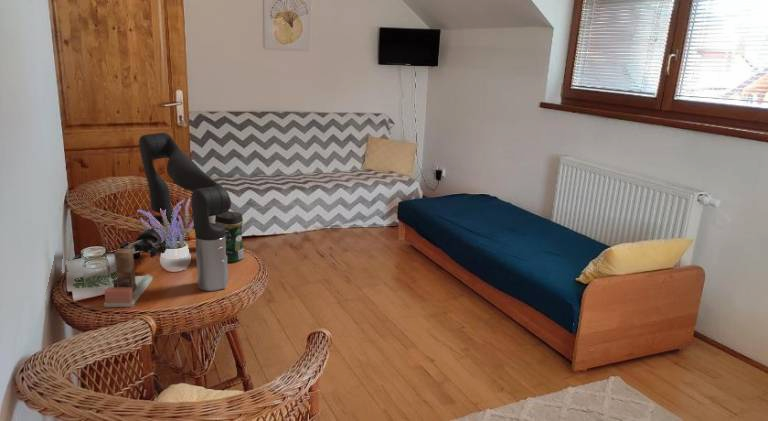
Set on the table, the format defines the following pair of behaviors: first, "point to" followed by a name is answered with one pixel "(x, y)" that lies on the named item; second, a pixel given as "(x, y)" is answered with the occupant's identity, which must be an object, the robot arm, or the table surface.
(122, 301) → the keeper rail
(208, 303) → the table surface
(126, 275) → the chain block
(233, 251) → the coffee jar
